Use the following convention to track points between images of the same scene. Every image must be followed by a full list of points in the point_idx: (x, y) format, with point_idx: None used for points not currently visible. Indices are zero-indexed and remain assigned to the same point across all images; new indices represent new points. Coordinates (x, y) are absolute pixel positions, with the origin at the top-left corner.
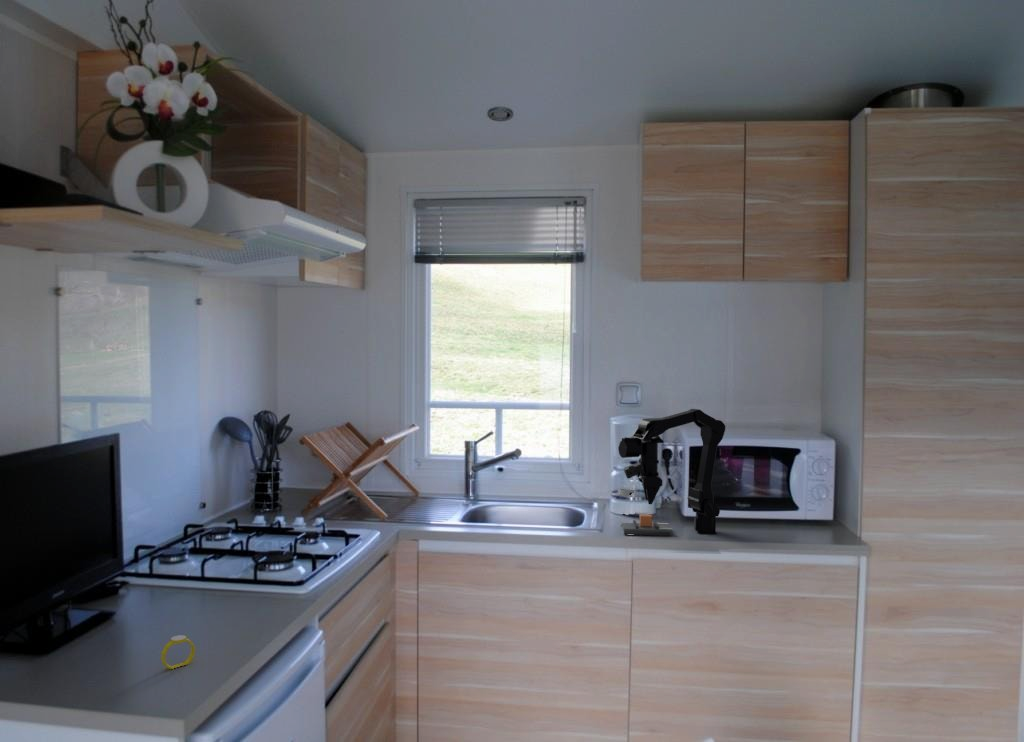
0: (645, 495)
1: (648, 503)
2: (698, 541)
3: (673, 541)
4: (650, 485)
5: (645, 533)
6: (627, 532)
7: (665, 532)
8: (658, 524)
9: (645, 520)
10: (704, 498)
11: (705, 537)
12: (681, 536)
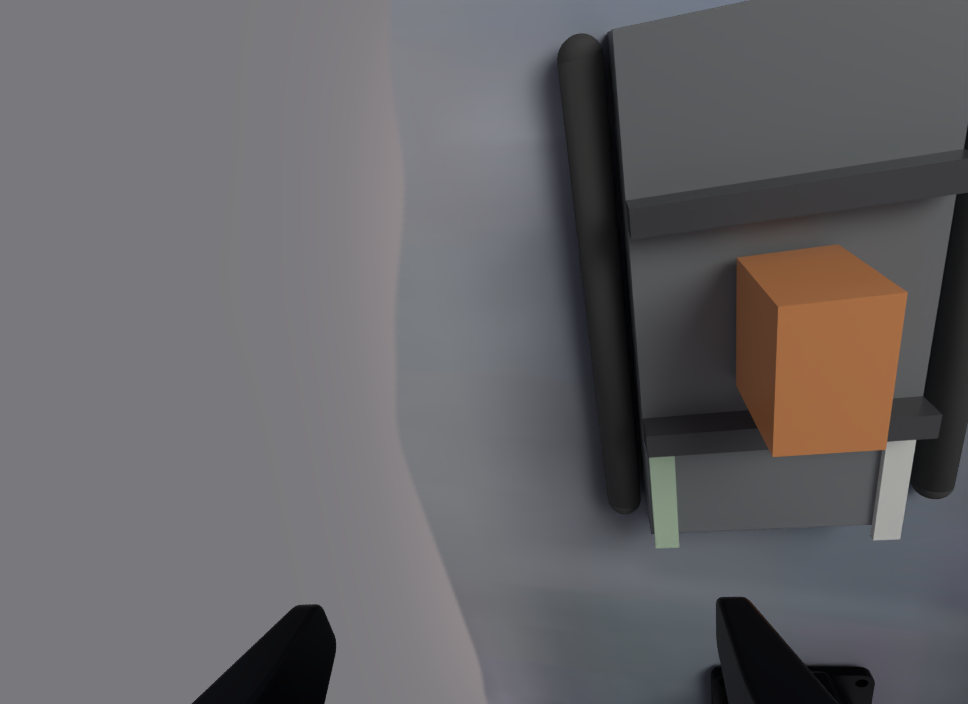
0: (750, 693)
1: (304, 609)
2: (500, 634)
3: (454, 496)
4: None
5: (587, 296)
6: (567, 85)
7: (617, 476)
8: None
9: (755, 347)
10: None
11: (619, 683)
12: (622, 560)
